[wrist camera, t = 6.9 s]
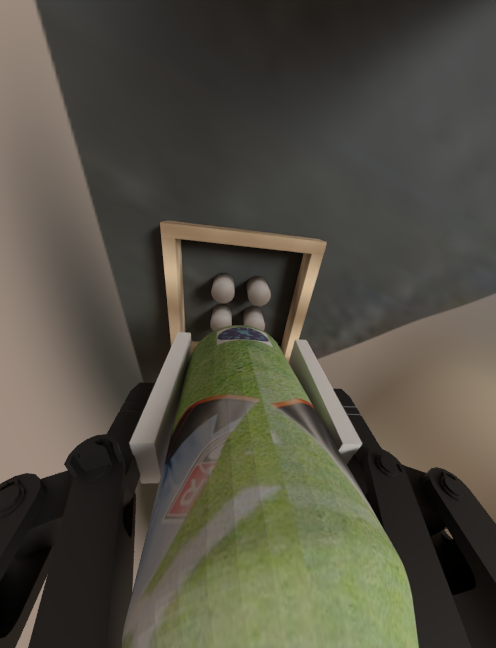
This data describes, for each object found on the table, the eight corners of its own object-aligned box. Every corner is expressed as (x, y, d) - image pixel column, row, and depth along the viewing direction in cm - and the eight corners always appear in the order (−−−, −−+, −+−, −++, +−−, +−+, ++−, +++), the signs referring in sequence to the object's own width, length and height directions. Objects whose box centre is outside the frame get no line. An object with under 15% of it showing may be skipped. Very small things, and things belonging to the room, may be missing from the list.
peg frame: (167, 220, 17) (157, 222, 14) (318, 238, 18) (329, 243, 16) (176, 347, 23) (171, 361, 21) (287, 353, 25) (292, 367, 22)
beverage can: (185, 380, 15) (69, 806, 4) (206, 287, 11) (-136, 1315, 1) (266, 394, 16) (329, 747, 6) (307, 314, 12) (674, 851, 2)
